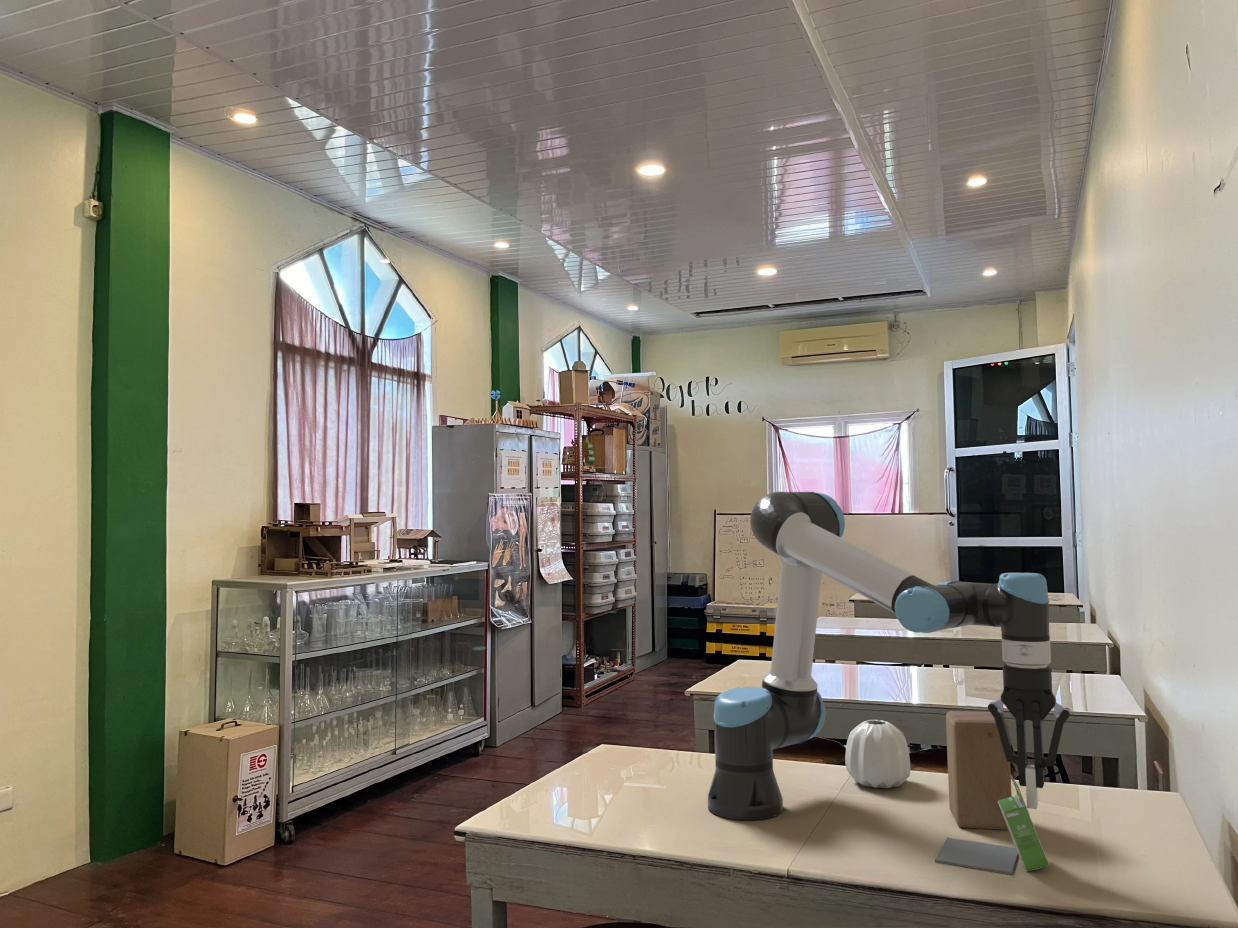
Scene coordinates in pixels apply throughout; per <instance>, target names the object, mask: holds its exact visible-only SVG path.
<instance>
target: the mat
mask: <svg viewBox="0 0 1238 928" xmlns="http://www.w3.org/2000/svg"><path fill="white" fill-rule="evenodd" d="M1018 856H1019V854H1018V852H1017V849H1016V847H1013V846H1007V845H1001V844H1000V845H999V844H993V843H987V842H986V843H985V842H980V841H973V840H968V839H967V840H966V839H960V838H954V837H948V836H947V837H946V838H945V839H944V842H943V844H942V846H941V848H940V850H939V852H938V853H937V855H936V857H935V858H934V862H935V863H939V864H945V865H951V866H957V867H964V868H969V869H974V870H980V871H988V872H993V873H1000V874H1005V875H1010V876H1012V875H1013V872H1014V869H1015V865H1016V862H1017V859H1018Z"/></svg>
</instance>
